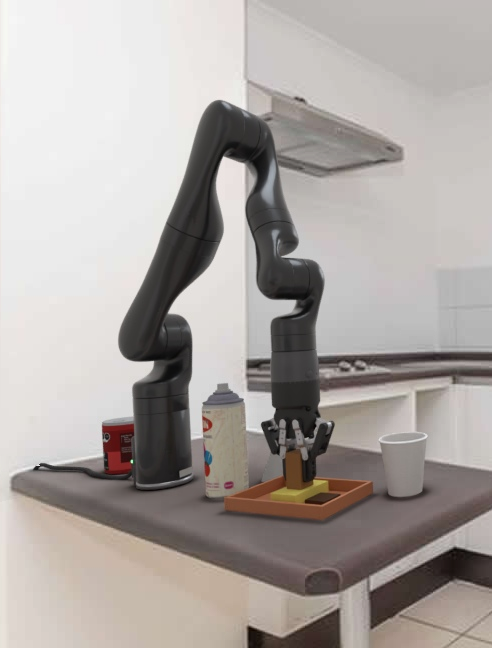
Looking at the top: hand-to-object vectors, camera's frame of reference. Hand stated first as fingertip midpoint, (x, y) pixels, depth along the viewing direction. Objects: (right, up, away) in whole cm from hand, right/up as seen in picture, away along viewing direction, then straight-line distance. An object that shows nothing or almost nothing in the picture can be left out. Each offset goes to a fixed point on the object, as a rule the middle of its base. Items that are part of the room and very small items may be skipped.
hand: (299, 479), depth 92 cm
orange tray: (0, -4, 0) cm, 4 cm away
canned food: (-49, -6, +27) cm, 56 cm away
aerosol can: (-16, -5, +6) cm, 17 cm away
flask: (-9, -4, +15) cm, 18 cm away
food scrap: (+4, -3, -1) cm, 6 cm away
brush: (0, -3, 0) cm, 3 cm away
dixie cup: (+17, -4, +3) cm, 18 cm away
